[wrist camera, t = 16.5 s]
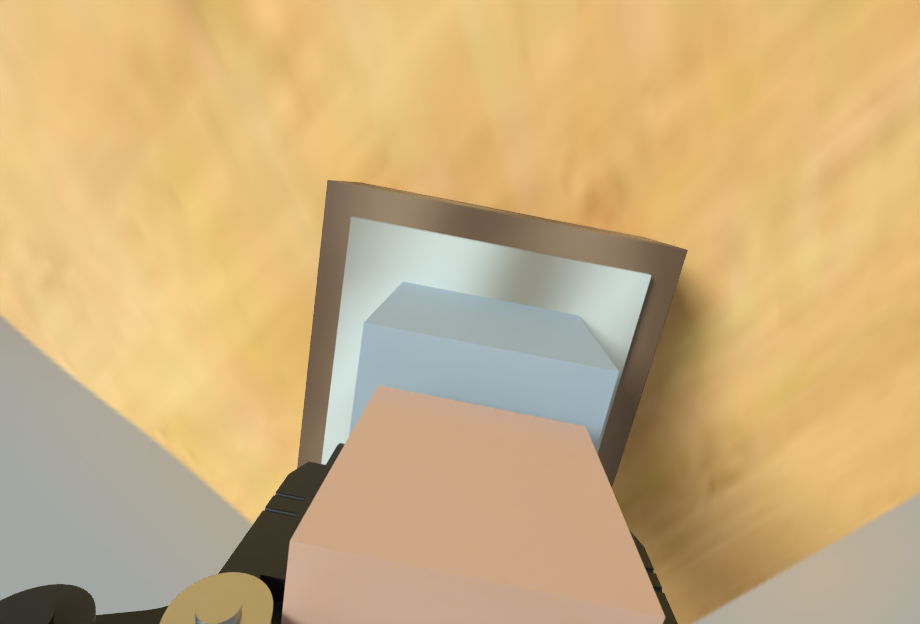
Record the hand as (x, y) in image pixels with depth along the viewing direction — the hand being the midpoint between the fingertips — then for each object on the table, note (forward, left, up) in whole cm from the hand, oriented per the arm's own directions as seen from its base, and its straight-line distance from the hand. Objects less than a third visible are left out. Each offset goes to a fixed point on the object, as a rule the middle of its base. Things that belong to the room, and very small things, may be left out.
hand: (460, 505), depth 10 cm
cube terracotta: (0, 0, 0) cm, 0 cm away
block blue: (0, 0, -6) cm, 6 cm away
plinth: (0, 0, -11) cm, 11 cm away
